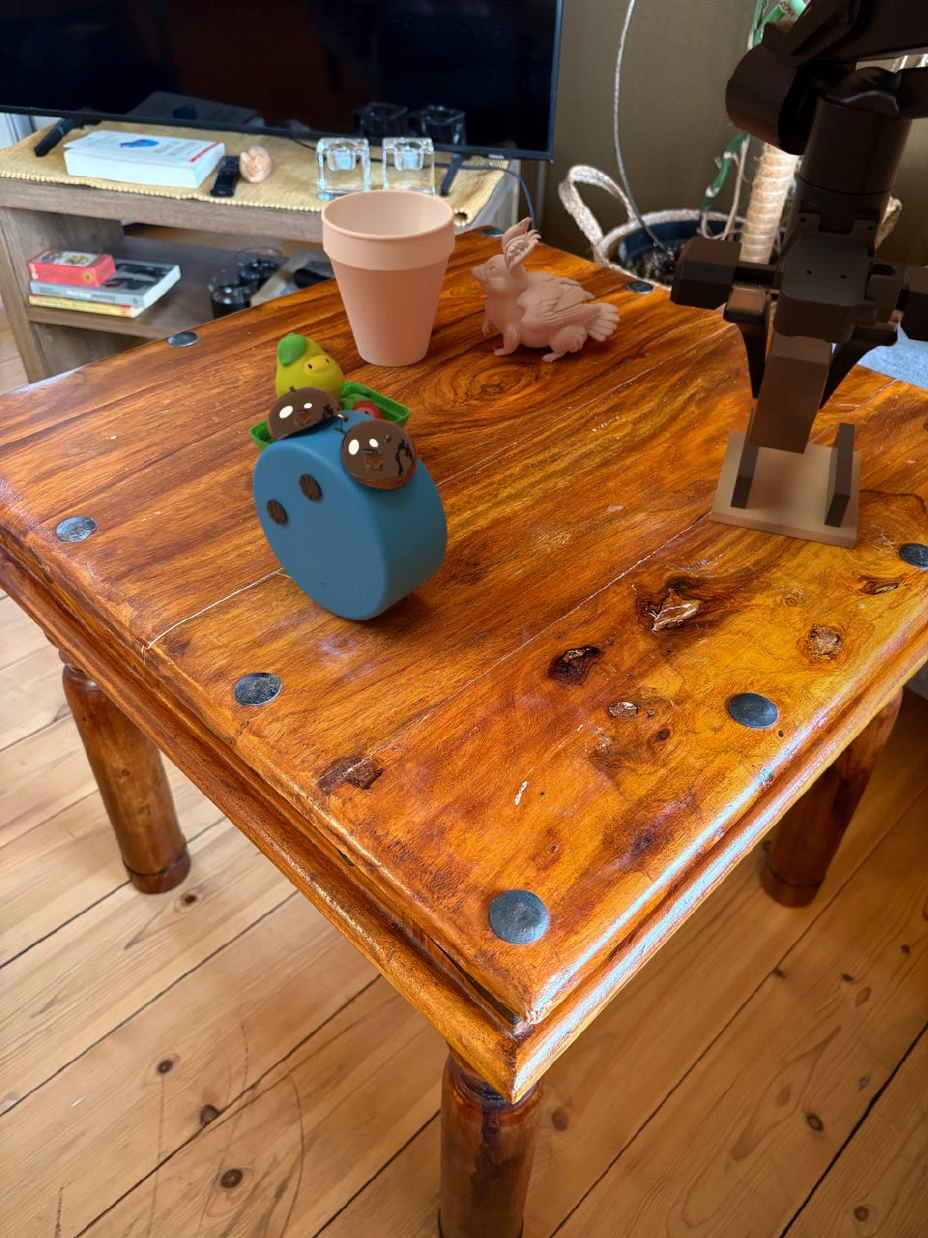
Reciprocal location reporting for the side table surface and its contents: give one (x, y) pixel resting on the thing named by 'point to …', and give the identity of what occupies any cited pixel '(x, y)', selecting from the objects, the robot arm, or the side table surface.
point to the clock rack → (792, 489)
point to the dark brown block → (790, 392)
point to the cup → (389, 268)
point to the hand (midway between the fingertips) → (786, 401)
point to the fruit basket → (323, 385)
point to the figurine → (538, 301)
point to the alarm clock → (347, 505)
